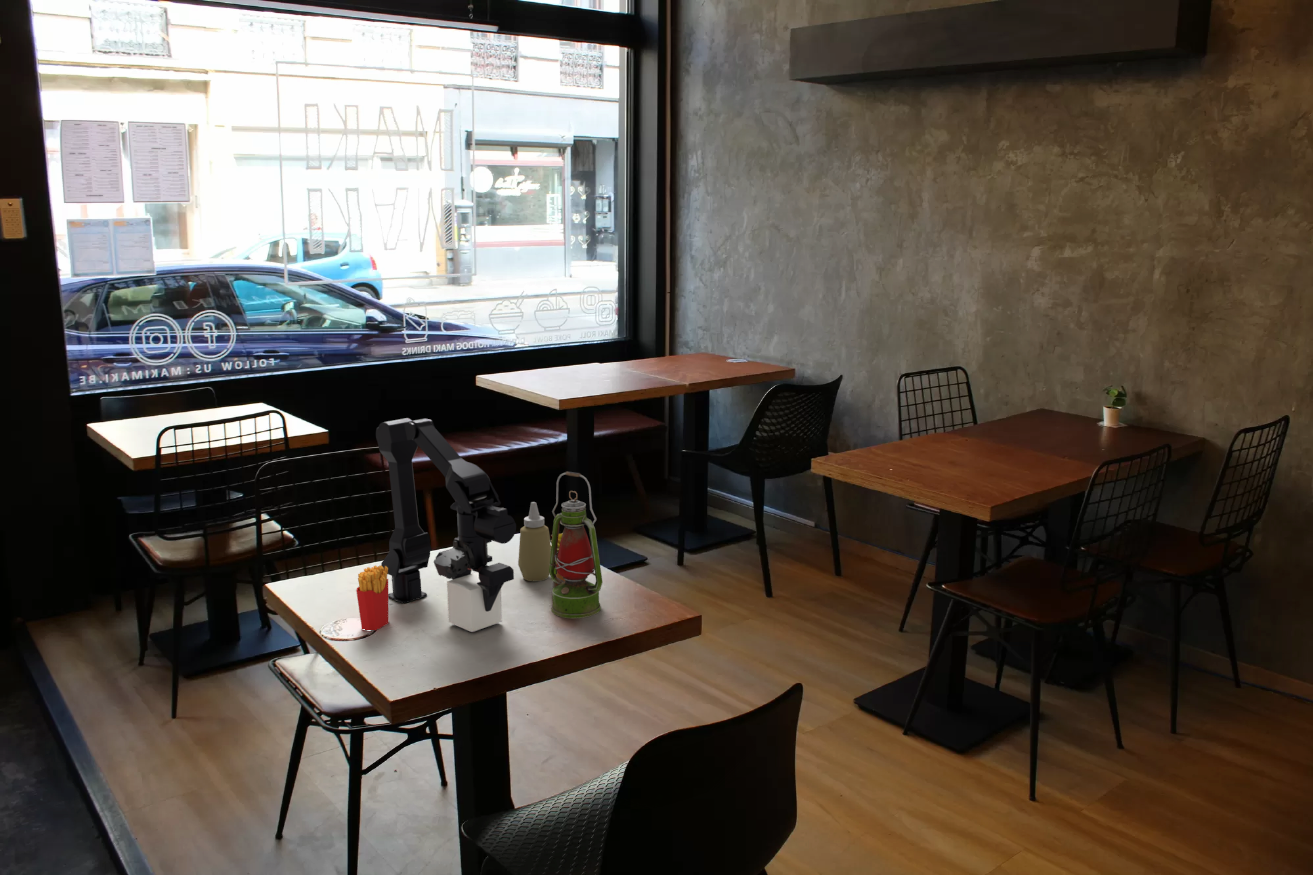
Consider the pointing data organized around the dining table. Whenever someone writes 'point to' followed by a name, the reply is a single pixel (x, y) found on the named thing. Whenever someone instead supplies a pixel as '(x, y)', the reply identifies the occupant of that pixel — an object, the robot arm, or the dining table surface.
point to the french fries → (373, 597)
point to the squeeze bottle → (534, 547)
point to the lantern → (574, 560)
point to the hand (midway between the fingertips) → (475, 605)
